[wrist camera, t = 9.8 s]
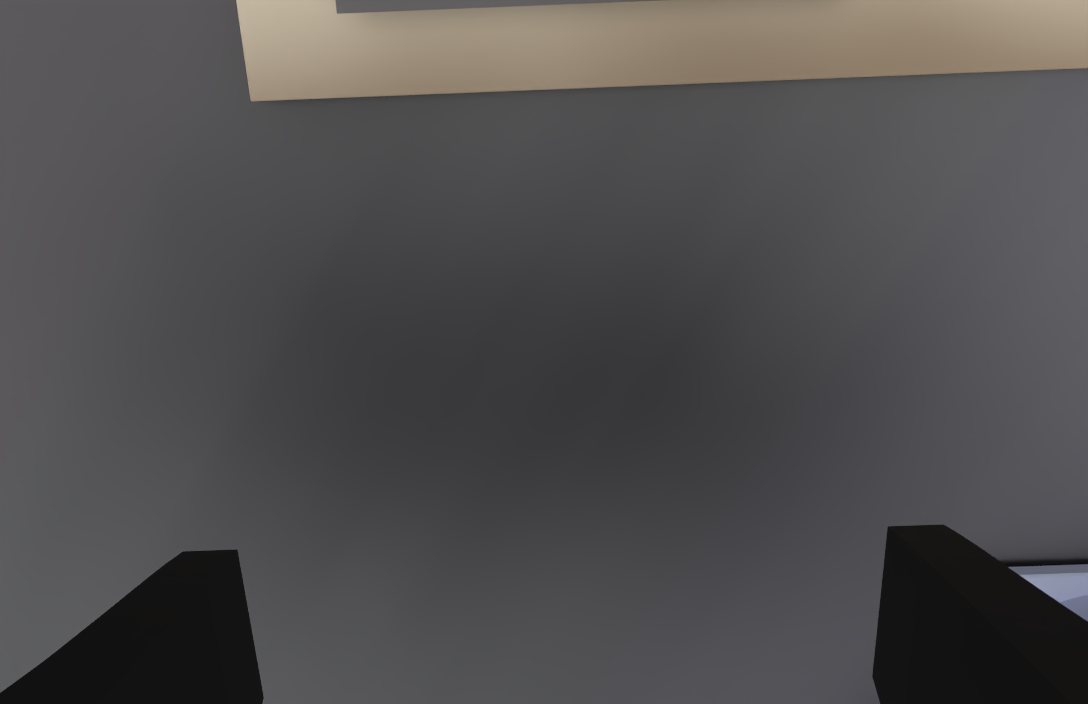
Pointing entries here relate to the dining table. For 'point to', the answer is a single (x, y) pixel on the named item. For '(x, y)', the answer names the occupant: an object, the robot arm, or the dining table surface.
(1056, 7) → the rail
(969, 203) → the dining table surface
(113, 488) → the dining table surface
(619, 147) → the dining table surface
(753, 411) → the dining table surface
